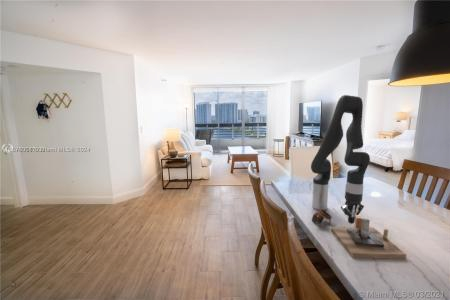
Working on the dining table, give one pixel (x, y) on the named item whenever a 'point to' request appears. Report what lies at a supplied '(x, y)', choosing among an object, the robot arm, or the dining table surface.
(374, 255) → the post base
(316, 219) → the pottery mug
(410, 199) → the dining table surface
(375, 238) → the knobbed grey plate
